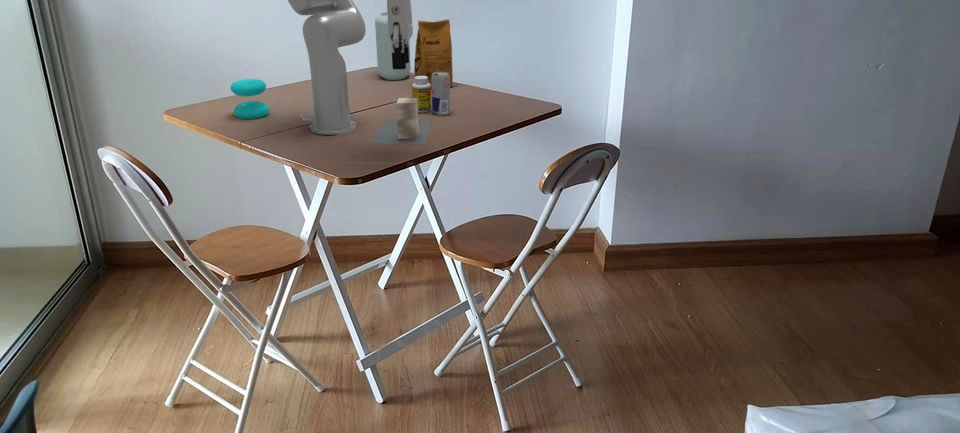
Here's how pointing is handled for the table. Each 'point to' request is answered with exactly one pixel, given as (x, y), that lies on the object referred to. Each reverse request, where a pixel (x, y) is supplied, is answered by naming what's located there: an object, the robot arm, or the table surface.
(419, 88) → the supplement bottle
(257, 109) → the donuts
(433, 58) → the coffee package
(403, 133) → the birch block
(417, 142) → the rubber mat
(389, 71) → the vase
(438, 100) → the energy drink
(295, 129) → the table surface
